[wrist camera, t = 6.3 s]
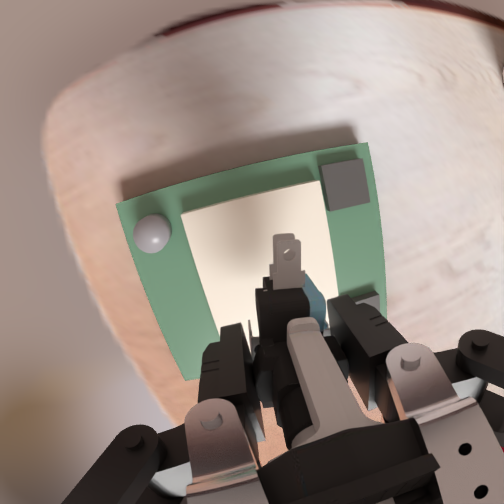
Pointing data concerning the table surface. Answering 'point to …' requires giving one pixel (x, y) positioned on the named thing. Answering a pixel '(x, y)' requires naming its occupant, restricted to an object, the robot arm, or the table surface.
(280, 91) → the table surface
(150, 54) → the table surface
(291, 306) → the push button
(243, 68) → the table surface
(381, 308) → the board
